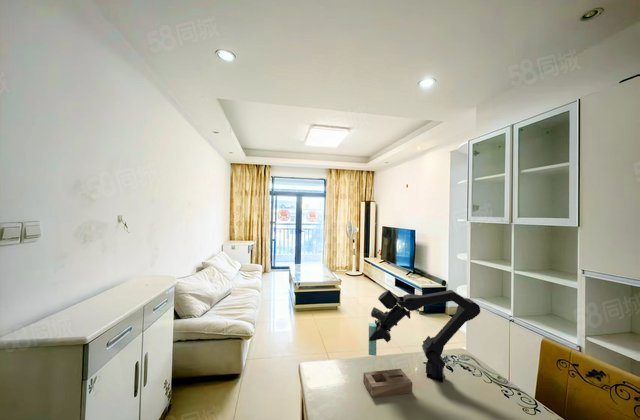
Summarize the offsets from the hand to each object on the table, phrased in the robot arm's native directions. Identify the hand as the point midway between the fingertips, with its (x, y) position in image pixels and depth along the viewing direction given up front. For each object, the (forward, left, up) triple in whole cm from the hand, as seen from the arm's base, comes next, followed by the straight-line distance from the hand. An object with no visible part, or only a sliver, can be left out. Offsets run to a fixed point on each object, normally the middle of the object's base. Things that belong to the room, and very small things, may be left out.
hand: (369, 338), depth 113 cm
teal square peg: (-1, -1, -7) cm, 7 cm away
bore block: (-11, +8, -13) cm, 19 cm away
